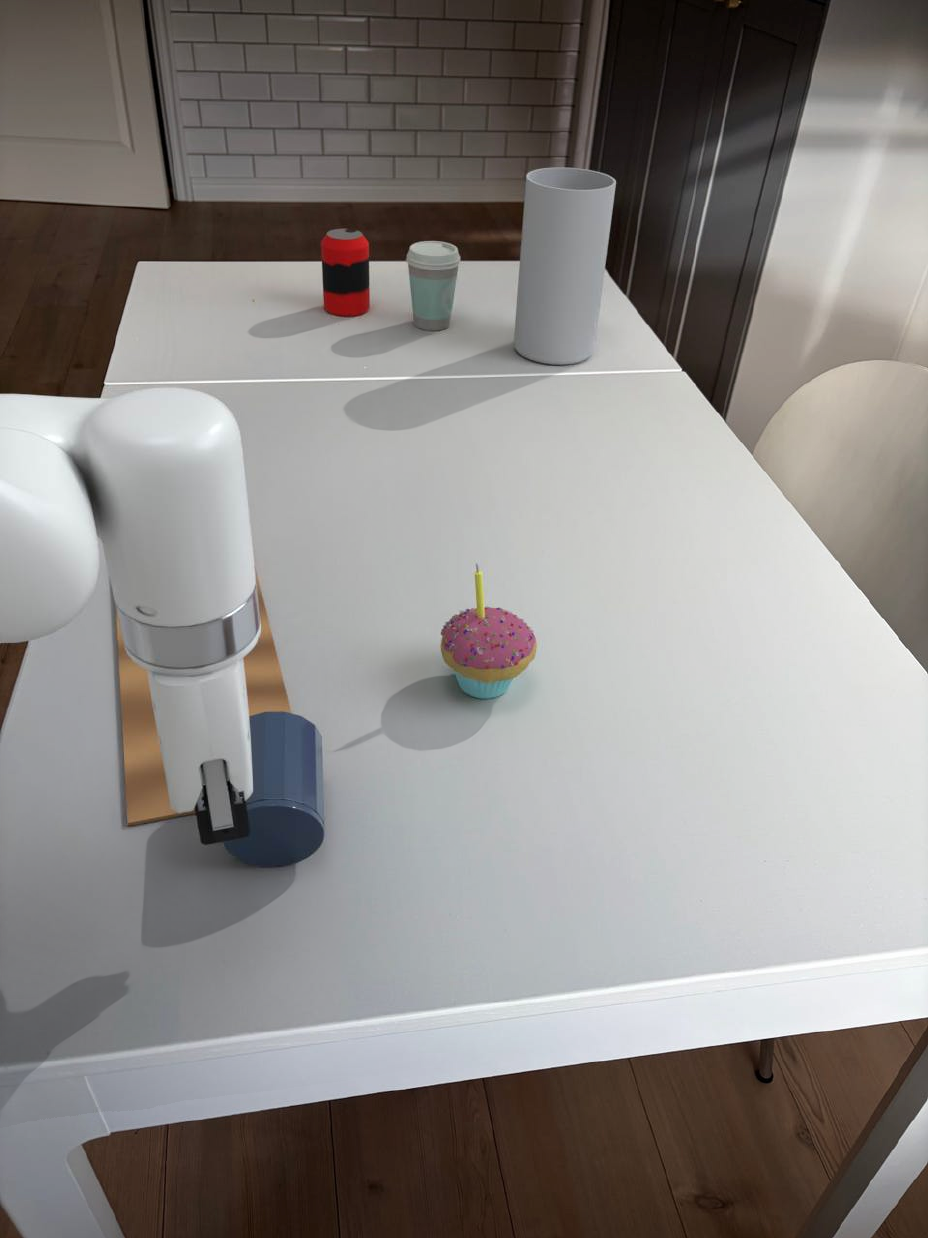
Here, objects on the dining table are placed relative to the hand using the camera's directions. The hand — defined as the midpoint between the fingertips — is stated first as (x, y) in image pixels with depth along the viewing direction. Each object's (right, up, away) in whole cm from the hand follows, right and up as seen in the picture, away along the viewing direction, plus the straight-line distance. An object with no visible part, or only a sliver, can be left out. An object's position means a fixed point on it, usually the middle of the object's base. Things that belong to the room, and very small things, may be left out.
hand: (224, 831), depth 66 cm
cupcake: (+18, +8, +25) cm, 32 cm away
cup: (+2, -1, +5) cm, 5 cm away
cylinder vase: (+30, +56, +87) cm, 108 cm away
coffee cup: (+11, +62, +94) cm, 113 cm away
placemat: (-9, +11, +26) cm, 30 cm away
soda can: (-3, +65, +98) cm, 118 cm away
